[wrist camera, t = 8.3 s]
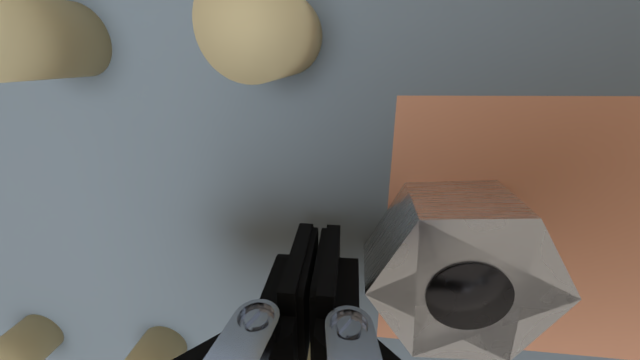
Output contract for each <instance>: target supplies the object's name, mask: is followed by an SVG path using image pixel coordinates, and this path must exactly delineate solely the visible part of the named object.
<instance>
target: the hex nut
mask: <svg viewBox="0 0 640 360" xmlns="http://www.w3.org/2000/svg"><path fill="white" fill-rule="evenodd" d="M364 277H365V295H366V296H367V298H368V299H369V300H370V302H371V303H372V304H373V306H374V307H375V308H376V310H377V311H378V312H379V313H380V315H381V316H382V317H383V319H384V320H385V321H386V323H387V324H388V325H389V327H390V328H391V329H392V331H393V332H394V333H395V335H396V336H397V337H398V339H399V340H400V341H401V342H402V344H403V345H404V346H405V348H406V349H407V350H408V352H409V353H410V354H411V356H412V357H427V358H447V359H467V360H512V359H513V358H514V357H515V356H517V355H518V354H519V353H520V352H521V351H522V350H524V349H525V348H526V347H527V346H528V345H529V344H531V343H532V342H533V341H534V340H535V339H536V338H538V337H539V336H540V335H541V334H542V333H543V332H545V331H546V330H547V329H548V328H549V327H550V326H551V325H553V324H554V323H555V322H556V321H557V320H558V319H560V318H561V317H562V316H563V315H564V314H565V313H567V312H568V311H569V310H570V309H571V308H572V307H574V306H575V305H576V304H577V303H578V302H579V301H581V300H582V299H581V297H580V295H579V293H578V291H577V289H576V287H575V285H574V283H573V281H572V279H571V277H570V275H569V273H568V271H567V269H566V267H565V265H564V263H563V261H562V259H561V257H560V255H559V253H558V251H557V249H556V247H555V245H554V243H553V241H552V239H551V237H550V235H549V233H548V231H547V229H546V227H545V225H544V223H543V221H542V219H541V218H540V217H539V216H538V215H537V214H536V213H535V212H533V211H532V210H531V209H530V208H529V207H528V206H527V205H525V204H524V203H523V202H522V201H521V200H520V199H519V198H517V197H516V196H515V195H514V194H513V193H512V192H511V191H510V190H508V189H507V188H506V187H505V186H504V185H503V184H502V183H500V182H499V181H498V180H480V181H442V182H405V184H404V185H403V187H402V188H401V190H400V191H399V193H398V194H397V196H396V197H395V199H394V200H393V202H392V203H391V205H390V206H389V208H388V209H387V211H386V212H385V214H384V215H383V217H382V218H381V220H380V221H379V223H378V224H377V226H376V227H375V229H374V230H373V232H372V233H371V235H370V236H369V238H368V240H367V241H366V243H365V244H364Z"/></svg>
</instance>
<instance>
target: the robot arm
mask: <svg viewBox="0 0 640 360" xmlns="http://www.w3.org/2000/svg"><path fill="white" fill-rule="evenodd" d="M340 228H341V226H340V225H328V224H327V228H322V229H321V235H320V240H319V245H318V227H314V226H313V224H308V223H300V224H299V226H298V229H297V232H296V235H295V238H294V242H293V245H292V248H291V251H290V254H277V256H276V258H275V261H274V263H273V266H272V268H271V271H270V274H269V276H268V279H267V281H266V284H265V286H264V289H263V291H262V294H261V296H260V299H255V300H251V301H248V302H246V303H244V304H243V305H241V306H240V307H239V308H238V309H237V310H236V311H235V312H234V314H233V315H232V317H231V318H230V320H229V321H228V323H227V324H226V326H225V327H224V329H223V330H222V332H221V333H219V334H217V335H216V336H214V337H212V338H210V339H208V340H207V341H205V342H203V343H201V344H199V345H198V346H196V347H194V348H192V349H190V350H189V351H187V352H185V353H183V354H181V355H179V356H178V357H176V358H174V359H172V360H307V358H308V351H309V345H310V359H311V360H401V359H400V358H399V357H398V356H397V355H395V354H394V353H393V352H392V351H391V350H390V349H389V348H387V347H386V346H385V345H384V344H383V343H382V342H381V341H379V340H378V339H377V336H376V332H375V328H374V324H373V321H372V319H371V317H370V316H369V315H368V314H367V313H366V312H365V311H364V310H362V309H361V308H360V306H359V262H358V258H341V257H340Z"/></svg>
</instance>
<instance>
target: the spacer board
mask: <svg viewBox="0 0 640 360" xmlns="http://www.w3.org/2000/svg"><path fill="white" fill-rule="evenodd" d="M480 180H498V181H499V182H500V183H502V184H503V185H504V186H505V187H506V188H507V189H508V190H510V191H511V192H512V193H513V194H514V195H515V196H516V197H517V198H519V199H520V200H521V201H522V202H523V203H524V204H525V205H527V206H528V207H529V208H530V209H531V210H532V211H533V212H535V213H536V214H537V215H538V216H539V217H540V218H541V219H542V221H543V223H544V225H545V227H546V229H547V231H548V233H549V235H550V237H551V239H552V241H553V243H554V245H555V247H556V249H557V251H558V253H559V255H560V257H561V259H562V261H563V263H564V265H565V267H566V269H567V271H568V273H569V275H570V277H571V279H572V281H573V283H574V285H575V287H576V289H577V291H578V293H579V295H580V297H581V299H582V300H581V301H579V302H578V303H577V304H576V305H575V306H574V307H572V308H571V309H570V310H569V311H568V312H567V313H565V314H564V315H563V316H562V317H561V318H560V319H558V320H557V321H556V322H555V323H554V324H553V325H551V326H550V327H549V328H548V329H547V330H546V331H545V332H543V333H542V334H541V335H540V336H539V337H538V338H536V339H535V340H534V341H533V342H532V343H531V344H529V345H528V346H527V347H526V348H525V349H524V350H522V351H521V352H520V353H519V354H518V355H517V356H515V357H514V358H513V359H512V360H640V0H0V360H172V359H174V358H176V357H178V356H179V355H181V354H183V353H185V352H187V351H189V350H190V349H192V348H194V347H196V346H198V345H199V344H201V343H203V342H205V341H207V340H208V339H210V338H212V337H214V336H216V335H217V334H219V333H221V332H222V330H223V329H224V327H225V326H226V324H227V323H228V321H229V320H230V318H231V317H232V315H233V314H234V312H235V311H236V310H237V309H238V308H239V307H240V306H241V305H243V304H244V303H246V302H248V301H251V300H255V299H260V296H261V294H262V291H263V289H264V286H265V284H266V281H267V279H268V276H269V274H270V271H271V268H272V266H273V263H274V261H275V258H276V256H277V254H290V251H291V248H292V245H293V242H294V238H295V235H296V232H297V229H298V226H299V224H300V223H308V224H313V226H314V227H318V245H319V240H320V235H321V229H322V228H327V224H328V225H340V226H341V228H340V257H341V258H358V262H359V306H360V308H361V309H362V310H364V311H365V312H366V313H367V314H368V315H369V316H370V317H371V319H372V321H373V324H374V328H375V332H376V336H377V339H378V340H379V341H381V342H382V343H383V344H384V345H385V346H386V347H387V348H389V349H390V350H391V351H392V352H393V353H394V354H395V355H397V356H398V357H399V358H400V359H401V360H467V359H447V358H427V357H412V356H411V354H410V353H409V352H408V350H407V349H406V348H405V346H404V345H403V344H402V342H401V341H400V340H399V339H398V337H397V336H396V335H395V333H394V332H393V331H392V329H391V328H390V327H389V325H388V324H387V323H386V321H385V320H384V319H383V317H382V316H381V315H380V313H379V312H378V311H377V310H376V308H375V307H374V306H373V304H372V303H371V302H370V300H369V299H368V298H367V296H366V295H365V277H364V244H365V243H366V241H367V240H368V238H369V236H370V235H371V233H372V232H373V230H374V229H375V227H376V226H377V224H378V223H379V221H380V220H381V218H382V217H383V215H384V214H385V212H386V211H387V209H388V208H389V206H390V205H391V203H392V202H393V200H394V199H395V197H396V196H397V194H398V193H399V191H400V190H401V188H402V187H403V185H404V184H405V182H442V181H480ZM307 360H311V359H310V345H309V351H308V358H307Z"/></svg>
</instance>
